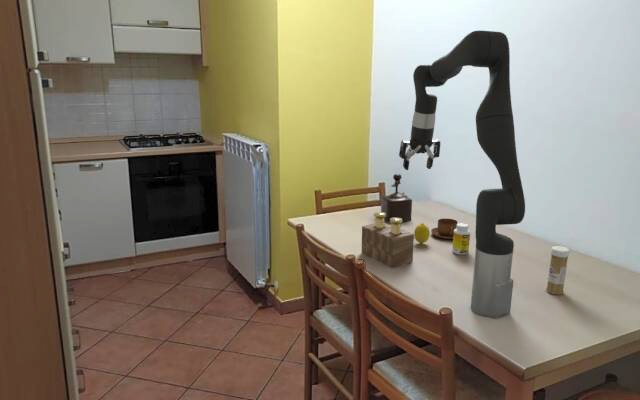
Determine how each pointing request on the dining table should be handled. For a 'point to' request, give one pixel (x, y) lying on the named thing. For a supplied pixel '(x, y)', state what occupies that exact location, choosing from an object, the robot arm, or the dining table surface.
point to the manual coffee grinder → (396, 203)
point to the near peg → (395, 225)
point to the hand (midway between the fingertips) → (417, 168)
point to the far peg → (379, 219)
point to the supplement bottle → (461, 239)
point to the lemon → (421, 233)
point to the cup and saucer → (445, 228)
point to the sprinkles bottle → (557, 270)
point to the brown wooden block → (387, 245)
